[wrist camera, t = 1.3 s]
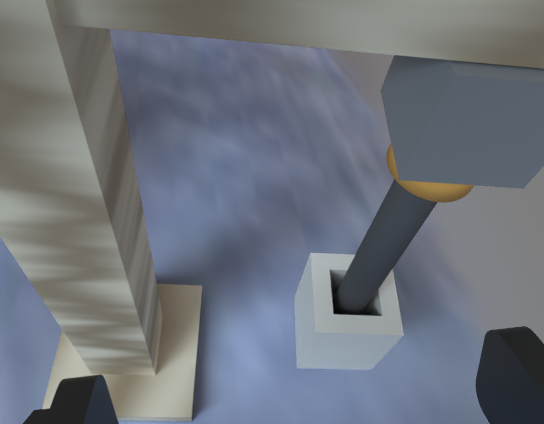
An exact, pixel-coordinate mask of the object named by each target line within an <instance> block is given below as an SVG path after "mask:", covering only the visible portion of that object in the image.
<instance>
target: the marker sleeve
mask: <svg viewBox="0 0 544 424" xmlns="http://www.w3.org/2000/svg"><path fill="white" fill-rule="evenodd" d="M354 257H355V255H348V254H328V253H310V256H309V258H308V261H307V264H306V267H305V269H304V272H303V275H302V278H301V281H300V283H299V286H298V289H297V292H296V294H295V297H294V303H295V329H296V355H297V368H310V369H350V370H372V369H373V367H374V366H375V365H376V364H377V363H378V362H379V361H380V360H381V359H382V358H383V357H384V356H385V355H386V354H387V353H388V352H389V351H390V350H391V349H392V347H393V346H394V345H395V344H396V343H397V342H398V341H399V340H400V339H401V338H402V337H403V336H404V332H403V326H402V320H401V314H400V308H399V303H398V297H397V291H396V285H395V279H394V273H393V269H392V270H391V272H390V273H389V274H388V276H387V277H386V279H385V280H384V282H383V283H382V285H381V286H380V288H379V289H378V291H377V292H376V294H375V295H374V297H373V298H372V300H371V301H370V302H369V304H368V305H367V307H366V308H365V310H364V311H363V313H362V314H361V315H338V314H333V303H332V299H333V297H334V295H335V293H336V291H337V289H338V287H339V286H340V284H341V282H342V280H343V278H344V276H345V274H346V272H347V270H348V268H349V266H350V264H351V262H352V260H353V259H354Z"/></svg>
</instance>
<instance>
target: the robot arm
mask: <svg viewBox="0 0 544 424" xmlns="http://www.w3.org/2000/svg"><path fill="white" fill-rule="evenodd" d="M476 393H477V397H478V401H479V404H480V406H481V409H482V411H483V413H484V414H485V416H486V418H487V419H488V421H489V423H490V424H544V344H543V343H542V341H541V340H540V339H539V338H538V337H537V336H536V334H535V333H534V332H533V331H532V330H531V329H529V328H528V327H525V326H523V327H514V328H506V329H497V330H490V331H488V332H487V333H486V335H485V339H484V344H483V348H482V353H481V358H480V363H479V368H478V373H477V378H476ZM23 424H119V423H118V420H117V417H116V413H115V410H114V407H113V403H112V400H111V397H110V393H109V390H108V387H107V384H106V380H105V378H104V376H103V375H92V376H84V377H75V378H66V379H63V380H61V382H60V383H59V385H58V387H57V390H56V393H55V395H54V398H53V401H52V404H51V406H50V408H49V409H40V410H34V411H33V412H32V413H31V414H30V416H29V417H28V418H27V419H26V420H25V422H24V423H23Z"/></svg>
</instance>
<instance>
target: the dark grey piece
mask: <svg viewBox="0 0 544 424" xmlns="http://www.w3.org/2000/svg"><path fill="white" fill-rule="evenodd" d="M381 94H382V99H383V104H384V109H385V114H386V119H387V124H388V129H389V134H390V139H391V144H390V146H389V148H388V151H387V157H386V159H387V165H388V168H389V170H390V173H391V174H392V176H393V177H394V181H393V183H392V185H391V187H390V189H389V191H388V193H387V195H386V197H385V199H384V201H383V202H382V204H381V206H380V208H379V210H378V212H377V214H376V216H375V218H374V220H373V222H372V224H371V226H370V228H369V230H368V231H367V233H366V235H365V237H364V239H363V241H362V243H361V245H360V247H359V249H358V251H357V253H356V255H355V257H354V259H353V260H352V262H351V264H350V266H349V268H348V270H347V272H346V274H345V276H344V278H343V280H342V282H341V284H340V286H339V287H338V289H337V291H336V293H335V295H334V297H333V299H332V303H333V314H338V315H361V314H362V313H363V311H364V310H365V308H366V307H367V305H368V304H369V302H370V301H371V300H372V298H373V297H374V295H375V294H376V292H377V291H378V289H379V288H380V286H381V285H382V283H383V282H384V280H385V279H386V277H387V276H388V274H389V273H390V272H391V270H392V269H393V267H394V266H395V264H396V263H397V261H398V260H399V258H400V257H401V255H402V254H403V252H404V251H405V249H406V248H407V246H408V245H409V243H410V242H411V241H412V239H413V238H414V236H415V235H416V233H417V232H418V230H419V229H420V227H421V226H422V224H423V223H424V221H425V220H426V218H427V217H428V215H429V214H430V213H431V211H432V210H433V208H434V207H435V205H436V204H437V202H452V201H456V200H458V199H461V198H463V197H464V196H466V195H467V194H468V193H469V192H470V191H471V189H472V188H473V187H474V185H479V186H480V185H481V186H494V187H511V188H524V187H525V186H526V185H527V184H528V183H529V182H530V181H531V179H532V178H533V177H534V176H535V175H536V174H537V173H538V172H539V170H540V169H541V168H542V167H543V166H544V69H542V68H531V67H520V66H509V65H498V64H487V63H476V62H465V61H455V60H444V59H433V58H422V57H411V56H400V55H394V57H393V60H392V63H391V65H390V68H389V70H388V73H387V76H386V78H385V81H384V84H383V86H382V89H381Z"/></svg>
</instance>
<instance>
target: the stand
mask: <svg viewBox="0 0 544 424" xmlns="http://www.w3.org/2000/svg"><path fill="white" fill-rule="evenodd" d="M109 29H116V30H127V31H138V32H149V33H160V34H171V35H182V36H192V37H203V38H214V39H225V40H236V41H247V42H258V43H269V44H280V45H291V46H302V47H313V48H324V49H334V50H347V51H356V52H369V53H379V54H389V55H400V56H411V57H422V58H433V59H444V60H455V61H465V62H476V63H487V64H498V65H509V66H520V67H531V68H542V69H544V0H0V237H1V238H2V240H3V241H4V243H5V244H6V246H7V247H8V249H9V250H10V252H11V253H12V255H13V256H14V258H15V259H16V261H17V262H18V264H19V265H20V267H21V268H22V270H23V271H24V273H25V274H26V276H27V277H28V279H29V280H30V282H31V283H32V285H33V286H34V288H35V289H36V291H37V292H38V294H39V295H40V297H41V298H42V300H43V301H44V303H45V304H46V306H47V307H48V309H49V310H50V312H51V313H52V315H53V316H54V318H55V319H56V321H57V322H58V324H59V325H60V327H61V328H62V331H61V335H60V339H59V344H58V348H57V352H56V356H55V360H54V364H53V368H52V372H51V376H50V380H49V384H48V388H47V392H46V396H45V400H44V404H43V408H42V409H49V408H50V406H51V404H52V401H53V398H54V395H55V393H56V390H57V387H58V385H59V383H60V382H61V380H63V379H66V378H75V377H84V376H92V375H103V376H104V378H105V380H106V384H107V387H108V390H109V393H110V397H111V400H112V403H113V407H114V410H115V413H116V417H117V420H132V421H192V413H193V401H194V388H195V375H196V363H197V350H198V338H199V325H200V313H201V300H202V286H200V285H176V284H157V282H156V276H155V271H154V266H153V260H152V255H151V250H150V244H149V239H148V234H147V228H146V223H145V217H144V212H143V207H142V201H141V196H140V191H139V185H138V180H137V175H136V169H135V164H134V158H133V153H132V148H131V142H130V137H129V132H128V126H127V121H126V115H125V110H124V105H123V99H122V94H121V89H120V83H119V78H118V73H117V67H116V62H115V56H114V51H113V46H112V40H111V35H110V30H109Z"/></svg>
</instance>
